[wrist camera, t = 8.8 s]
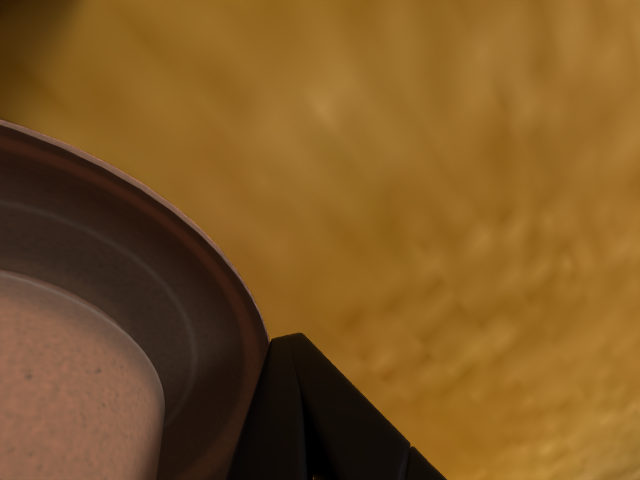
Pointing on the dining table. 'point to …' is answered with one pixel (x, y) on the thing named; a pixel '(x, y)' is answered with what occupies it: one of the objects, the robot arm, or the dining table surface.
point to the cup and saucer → (114, 326)
